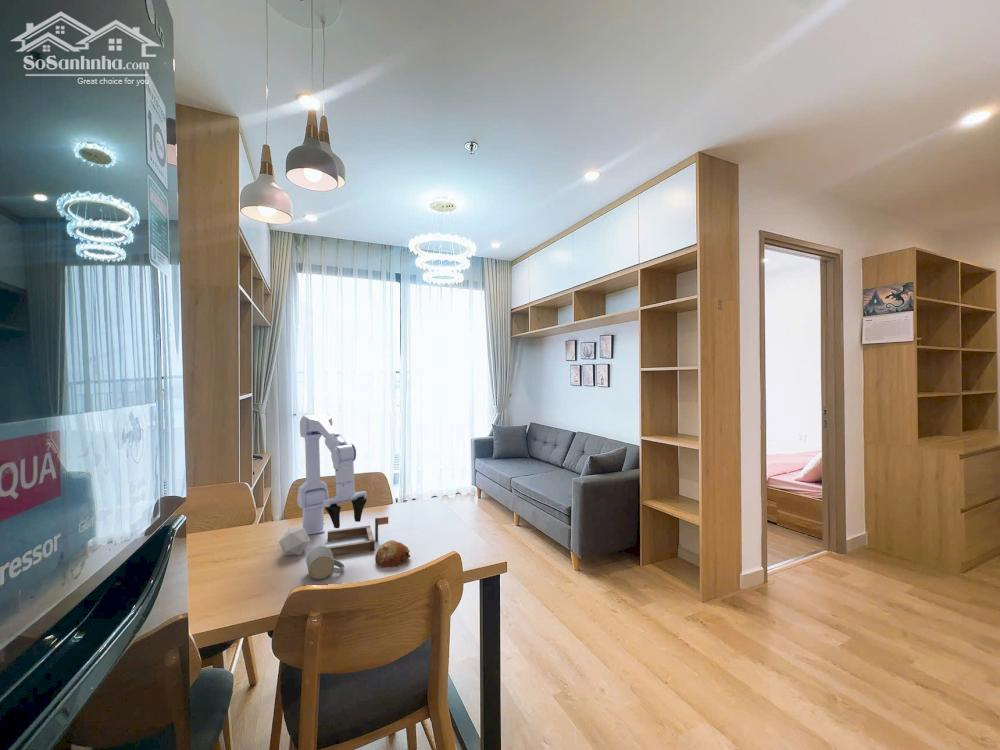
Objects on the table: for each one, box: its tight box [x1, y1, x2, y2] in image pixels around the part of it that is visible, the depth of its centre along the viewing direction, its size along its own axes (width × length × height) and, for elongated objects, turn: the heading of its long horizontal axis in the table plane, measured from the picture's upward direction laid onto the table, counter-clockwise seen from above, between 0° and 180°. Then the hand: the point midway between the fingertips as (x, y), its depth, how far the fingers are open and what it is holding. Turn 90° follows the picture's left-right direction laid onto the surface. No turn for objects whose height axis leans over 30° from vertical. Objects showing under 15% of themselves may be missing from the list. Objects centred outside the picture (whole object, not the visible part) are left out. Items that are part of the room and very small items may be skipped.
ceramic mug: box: [305, 545, 345, 581], centre depth 123 cm, size 10×8×7 cm
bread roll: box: [374, 539, 411, 569], centre depth 132 cm, size 10×10×8 cm
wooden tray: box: [327, 516, 389, 558], centre depth 145 cm, size 16×20×8 cm
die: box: [278, 527, 311, 556], centre depth 137 cm, size 8×9×10 cm
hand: (347, 524), depth 135 cm, fingers open, 7 cm apart
